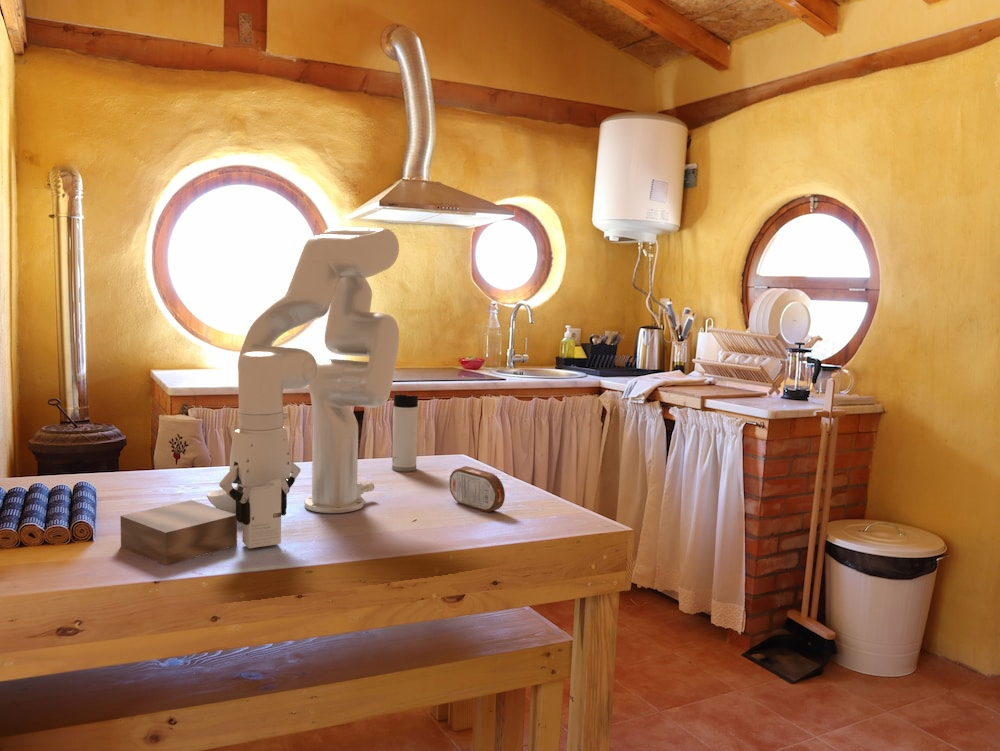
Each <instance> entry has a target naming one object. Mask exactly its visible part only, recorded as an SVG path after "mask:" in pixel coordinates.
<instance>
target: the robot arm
mask: <svg viewBox="0 0 1000 751" xmlns="http://www.w3.org/2000/svg"><path fill="white" fill-rule="evenodd" d="M399 252H400V243H399V240H398V237H397V235H396V234H395V232H393V231H392V230H391V229H390V228H386V227H364V226H363V227H360V226H359V227H358V226H357V227H355V226H341V227H340V226H339V227H332V228H329V229H326V230H324V232H323V233H322V234H320V235H319V234H318V235H314V236H312V237H311V238H309V239H308V240H307V241H306V243H305V245H304V246H303V249H302V252H301V254H300V257H299V259H298V262H297V264H296V267H295V270H294V273H293V276H292V278H291V281H290V283H289V286H288V288H287V291H286V293H285V295H284V296H283V297H281V298H280V299H279V300H277V301H276V302H274V303H273V304H272V305H271V306H269V308H267V309H266V310H265V311H263V313H262V314H261V315H259V316H258V318H256V319H255V321H253V323H252V324H251V326H249V329H248V331H247V334H246V336H245V339H244V341H243V344H242V346H241V350H240V352H239V356H238V360H237V371H238V372H237V373H238V378H237V379H238V382H237V383H238V428H237V429H235V430H234V432H233V436H232V441H231V446H230V455H229V456H230V457H229V472H227V474H226V475H225V476H224V477H223V479H221V480H220V482H219V484H218V485H219V487H220V488H221V489H223V490H224V491H225V492H226V493H227V494H228V495H229V496H230V497H232V498H233V500H235V501H236V513H235V514H236V518H237V523H241V524H245V525H248V524H249V523H250V503H248V502H247V499H248V496H249V494H250V491H251V489H252V487H257V486H261V485H264V484H267V483H269V482H270V481H272V480H275V479H279V478H280V479H281V517H283V516H286V515H287V507H288V505H287V504H288V503H287V502H288V500H287V499H288V498H287V497H288V496H287V495H288V494H289V493H290V491H291V487H292V486H293V485H294V483H295V481H296V479H297V477H298V476H299V475H300V473H301V470H302V469H301V468H300V467H299V466H298V465H296V463H294V462H293V460H291V452H290V451H291V449H290V444H289V437H288V432H287V428H286V427H285V426H284V420H287V419H288V417H289V414H288V412H287V411H284V397H283V396H284V395H283V393H284V390H299V389H303V388H306V387H308V390H309V396H310V401H311V411H312V451H311V452H312V456H311V457H312V459H311V460H312V462H311V463H312V464H311V465H312V470H311V471H312V472H311V474H312V476H311V496H309V497H307V498H305V500H304V503H303V504H304V508H305V509H307V510H308V511H311V512H315V513H320V514H321V513H322V514H342V513H343V514H344V513H350V512H355V511H358V510H361V509H362V508H363V507H364V506H365V498H363V497H362V495H363V494H364V493H369V492H373V491H374V490H375V485H374V483H373V482H372V481H371V482H367V483H366V482H365V483H363V484H362V482H358V471H359V470H358V464H359V463H358V461H359V460H358V459H359V423H358V420H357V418H356V415H355V413H354V412H353V410H352V407H359V408H373V409H374V408H380V407H383V406H384V405H385V404H386V403H387V402H388V401H389V398H390V394H391V391H392V386H393V383H394V382H393V381H394V376H395V371H396V366H397V365H396V363H397V359H398V358H397V357H398V353H399V352H398V350H399V345H400V330H399V329H400V328H399V326H398V323H397V320H396V319H395V318H394V317H393V316H392V315H390V314H387V313H384V312H370V311H371V305H372V299H373V298H372V297H373V291H372V288H371V285H370V283H369V282H368V280H367V278H370V277H373V276H375V275H377V274H380V273H382V272H384V271H386V270H388V269H390V268H391V267H392V266H393V265H394V264H395V263H396V261H397V259H398V256H399ZM327 313H328V315H327V321H326V327H325V332H324V345H325V347H326V348H327V350H328V351H329V352H331V353H332V354H335V355H336V354H337V355H341V356H342V355H343V356H349V357H350V356H351V357H353V356H355V357H363V358H365V357H366V358H367V357H368V361H361V360H352V359H351V360H349V359H335V358H334V359H331V358H330V359H323V360H320V361H318V362H317V361H316V359H315V357H314V356H313V355H312V353H311V352H309V351H307V350H305V349H302V348H295V347H283V346H273V345H274V343H275V342H276V341H277V340H278V339H279V338H280V337H281V336H282V335H284V334H285V333H287V332H289V331H290V330H293V329H295V328H297V327H301V326H303V325H306V324H309V323H311V322H314V321H315V320H318V319H320V318H322V317H324V316H325V315H326V314H327ZM233 484H236V489H234V486H233Z"/></svg>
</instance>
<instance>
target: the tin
mask: <svg viewBox="0 0 1000 751" xmlns="http://www.w3.org/2000/svg"><path fill="white" fill-rule="evenodd" d="M449 490H450V493H451V496H452V498H453V499H454V500H455V502H457V503H458V504H460V505H462V506H465V507H469V508H471V509H472V508H473V509H475V510H478V511H481V512H483V513H484V512H485V513H489V512H493V511H497V510H499V509H501V508H502V507H503V505H504V502H505V498H506V492H505V488H504V484H503V483H502V480H501V479H500V478H499V477H498V476H497V474H495V473H492V472H489V471H485V470H481V469H479V468H474V467H471V466H468V465H467V466H466V465H465V466H462V467H460V468H456V469H455V470H454V471H452V472H451V474H450V477H449Z"/></svg>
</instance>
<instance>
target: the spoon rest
mask: <svg viewBox="0 0 1000 751" xmlns="http://www.w3.org/2000/svg"><path fill="white" fill-rule="evenodd" d="M236 487H237V486H236ZM236 487H235V486H233V488H234V489H236ZM206 498H207V500H208V502H209V503H210V504H211V506H213V507H214V508H217V509H220V510H224V511H227V512H230V513H233V514H236V501H235V500H233V498H232V497H230V496H229V495H228V494H227V493H226V492H225V491H224V490H223V489H222V488H221V489H217V490H216V489H215V490H212V491H210V492H208V493H207V494H206Z"/></svg>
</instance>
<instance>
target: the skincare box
mask: <svg viewBox="0 0 1000 751" xmlns="http://www.w3.org/2000/svg"><path fill="white" fill-rule="evenodd" d="M247 502H248V503H250V523H249V524H248V525H245V524H242V523H241V524H242V530H241V532H242V543H243V544H244V545H245V547H247V548H248V549H255V548H261V547H267V546H275V545H280V544H281V543H282V515H281V479H280V478H279V479H275V480H272V481H270V482H269V483H267V484H264V485H261V486H257V487H252V489H251V491H250V494H249V496H248V499H247Z"/></svg>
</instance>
